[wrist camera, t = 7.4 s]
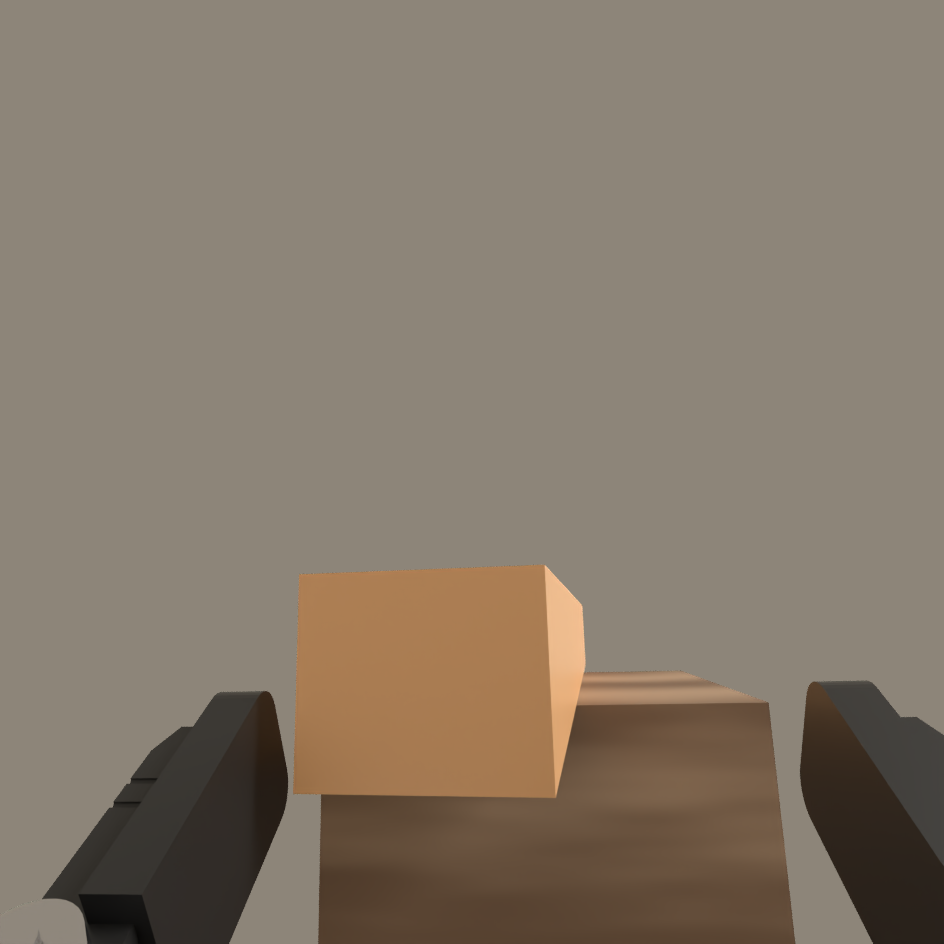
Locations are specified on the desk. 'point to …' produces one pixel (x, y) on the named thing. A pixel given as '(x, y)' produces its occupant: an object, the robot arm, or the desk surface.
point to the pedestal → (582, 836)
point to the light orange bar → (436, 682)
